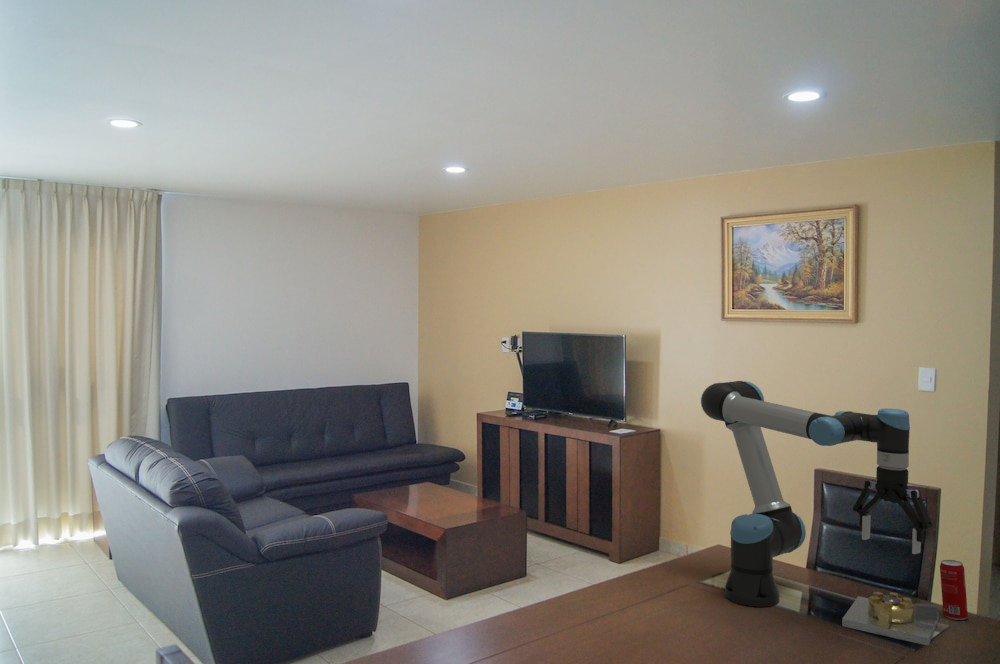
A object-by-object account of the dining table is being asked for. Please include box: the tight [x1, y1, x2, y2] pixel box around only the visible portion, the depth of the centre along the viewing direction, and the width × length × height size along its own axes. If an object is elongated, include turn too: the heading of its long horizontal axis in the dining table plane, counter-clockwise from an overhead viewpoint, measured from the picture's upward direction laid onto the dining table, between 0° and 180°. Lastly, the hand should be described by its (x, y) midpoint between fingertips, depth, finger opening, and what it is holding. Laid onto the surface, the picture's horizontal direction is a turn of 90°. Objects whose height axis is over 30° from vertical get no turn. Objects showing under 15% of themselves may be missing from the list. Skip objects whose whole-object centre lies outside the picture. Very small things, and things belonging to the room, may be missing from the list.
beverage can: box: [939, 559, 969, 621], centre depth 201 cm, size 6×6×15 cm
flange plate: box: [841, 595, 940, 647], centre depth 196 cm, size 20×20×6 cm
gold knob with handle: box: [867, 591, 915, 629], centre depth 194 cm, size 16×11×4 cm, turn 143°
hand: (890, 546), depth 196 cm, fingers open, 13 cm apart
